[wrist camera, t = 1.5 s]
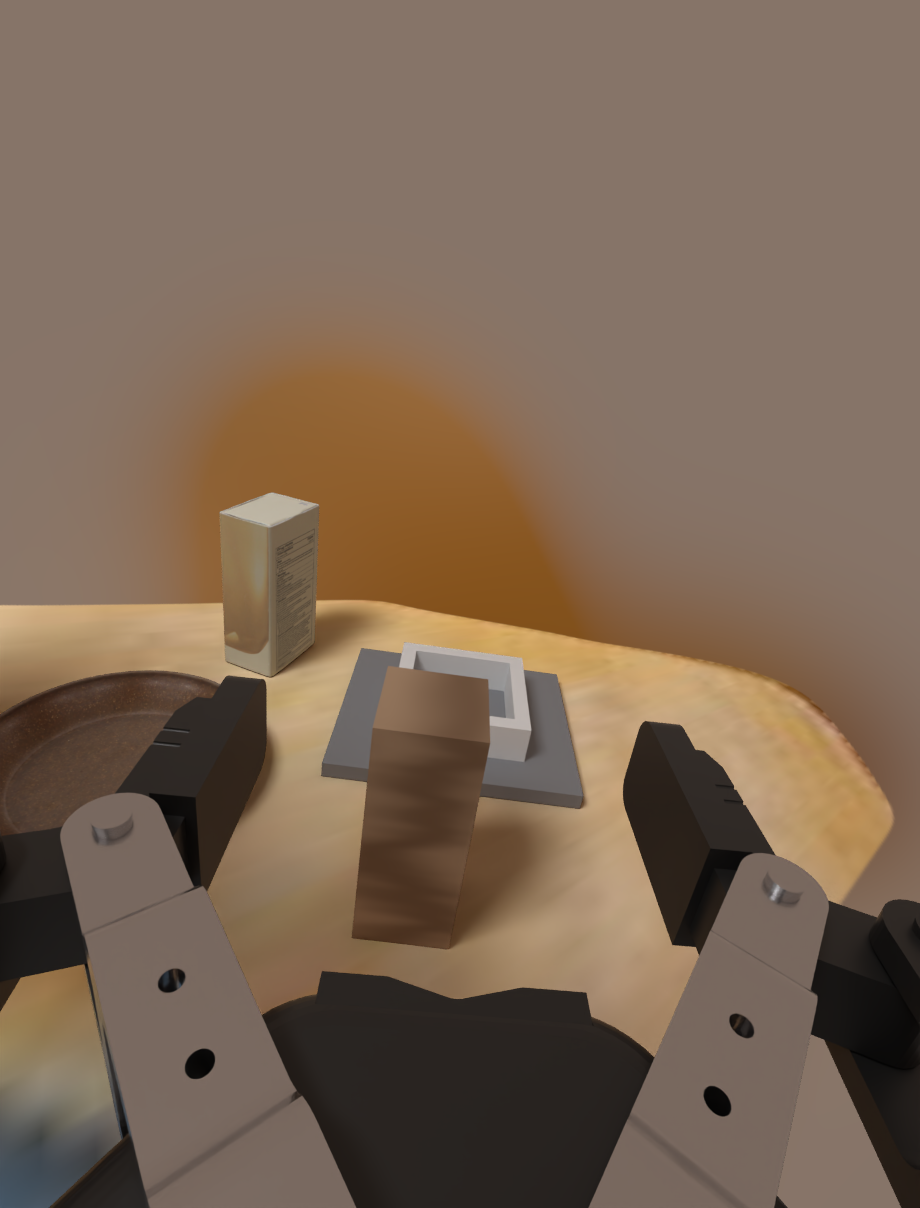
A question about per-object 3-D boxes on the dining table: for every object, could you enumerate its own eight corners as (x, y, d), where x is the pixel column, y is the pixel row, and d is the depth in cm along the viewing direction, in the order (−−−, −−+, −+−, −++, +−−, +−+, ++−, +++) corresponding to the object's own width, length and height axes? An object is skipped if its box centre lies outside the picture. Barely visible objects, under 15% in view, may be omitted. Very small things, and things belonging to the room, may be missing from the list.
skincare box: (272, 629, 52) (273, 490, 47) (316, 644, 51) (323, 502, 46) (220, 663, 47) (215, 509, 42) (268, 680, 46) (270, 524, 40)
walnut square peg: (351, 938, 28) (372, 727, 23) (367, 859, 32) (388, 665, 27) (448, 949, 29) (490, 743, 23) (452, 869, 33) (488, 679, 28)
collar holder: (321, 775, 38) (324, 729, 36) (360, 658, 50) (363, 620, 49) (579, 808, 38) (592, 764, 37) (554, 684, 51) (563, 648, 49)
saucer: (-14, 948, 26) (-27, 904, 25) (-60, 752, 35) (-71, 714, 34) (302, 805, 36) (303, 769, 34) (200, 681, 45) (199, 649, 44)
